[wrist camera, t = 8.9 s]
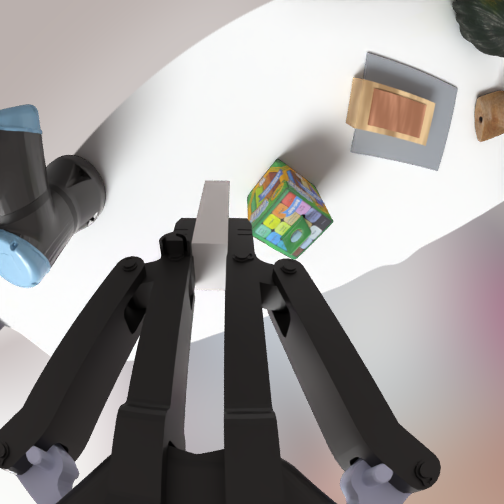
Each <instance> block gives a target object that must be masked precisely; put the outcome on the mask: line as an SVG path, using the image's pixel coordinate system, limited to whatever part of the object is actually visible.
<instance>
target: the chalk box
mask: <svg viewBox="0 0 504 504" xmlns="http://www.w3.org/2000/svg"><path fill="white" fill-rule="evenodd" d="M247 204H248V220H249V221H250V222H251V224H252V233H253V237H255V238H256V239H258V240H260V241H261V242H263V243H266V244H267V245H268V246H270V247H272V248H273V249H275V250H277V251H279V252H280V253H282V254H284V255H286V256H288V257H290V258H291V259H297V258H298V257H299V256H300V255H301V254H302V253H303V252H304V251H305V250H306V249H307V248H308V247H309V246H310V245H311V244H312V243H313V242H314V241H315V240H316V239H317V238H318V237H319V236H320V235H322V233H323V232H324V231H325V230H326V229H327V228H328V227H329V226H330V225H331V224H332V223H333V220H332V218H331V216H330V214H329V212H328V210H327V208H326V206H325V204H324V202H323V201H322V199H321V197H320V195H319V193H318V191H317V189H316V187H315V186H314V185H312V184H311V183H310V182H308V181H307V180H306V179H305V178H303V177H302V176H301V175H300V174H298V173H297V172H296V171H294V170H293V169H292V168H290V167H289V166H287V165H286V164H285V163H283V162H282V161H281V160H279V159H277V160H276V161H275V162H274V164H273V165H272V166H271V167H270V169H269V170H268V171H267V172H266V173H265V175H264V176H263V177H262V178H261V180H260V181H259V182H258V183H257V185H256V186H255V187H254V189H253V190H252V191H251V192H250V194H249V195H248V197H247Z"/></svg>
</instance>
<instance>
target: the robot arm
mask: <svg viewBox="0 0 504 504" xmlns="http://www.w3.org/2000/svg"><path fill="white" fill-rule="evenodd" d="M41 134H42V130H41V129H40V123H39V115H38V110H37V108H36V107H35V106H33V105H30V104H26V105H20V106H16V107H11V108H6V109H2V110H0V276H1V277H3V278H4V279H5V280H7V281H8V282H10V283H12V284H14V285H16V286H19V287H24V288H30V287H34V286H36V285H37V284H39V283H40V281H41V280H42V279H43V277H44V276H45V275H46V274H47V273H48V272H49V271H50V269H51V267H52V265H53V264H54V262H55V261H56V259H57V258H58V256H59V255H60V253H61V252H62V250H63V249H64V247H65V246H66V244H67V243H68V241H69V240H70V238H71V237H72V236H73V234H75V233H77V232H78V231H80V230H82V229H84V228H86V227H88V226H89V225H91V224H92V223H93V222H94V221H95V220H96V219H97V217H98V216H99V215H100V213H101V212H102V210H103V207H104V203H105V189H104V185H103V182H102V179H101V177H100V175H99V173H98V172H97V170H96V169H95V168H94V167H93V166H92V165H91V164H90V163H89V162H88V161H86V160H85V159H83V158H81V157H78V156H75V155H64V156H61V157H59V158H57V159H55V160H54V161H53V162H51V163H50V164H49V165H48V166H47V167H46V165H45V159H44V151H43V144H42V135H41ZM229 187H230V181H205V184H204V188H203V192H202V196H201V201H200V205H199V210H198V214H197V218H181V219H180V220H179V221H178V222H177V223H176V225H175V228H174V231H173V232H171V233H168V234H165V235H164V236H162V237H161V238H160V240H159V244H160V250H161V259H159V260H157V261H154V262H149V263H144V261H143V260H142V259H141V258H139V257H134V256H131V257H126V258H124V259H122V260H121V261H119V262H118V263H117V265H116V266H115V267H114V268H113V270H112V271H111V272H110V273H109V275H108V276H107V277H106V279H105V280H104V281H103V283H102V284H101V285H100V287H99V288H98V289H97V291H96V292H95V293H94V295H93V296H92V297H91V299H90V300H89V301H88V303H87V304H86V306H85V307H84V308H83V310H82V311H81V313H80V314H79V316H78V317H77V318H76V320H75V321H74V323H73V324H72V326H71V327H70V329H69V330H68V332H67V333H66V335H65V336H64V338H63V339H62V341H61V342H60V344H59V345H58V347H57V349H56V350H55V352H54V353H53V355H52V357H51V358H50V360H49V362H48V363H47V365H46V367H45V368H44V370H43V372H42V373H41V375H40V377H39V378H38V380H37V382H36V384H35V385H34V387H33V389H32V391H31V393H30V395H29V396H28V398H27V400H26V402H25V404H24V406H23V408H22V409H21V410H20V411H19V412H18V413H17V414H15V415H14V416H13V417H12V419H10V420H9V422H7V423H6V424H5V425H4V426H3V427H2V428H1V429H0V468H2V469H4V470H6V471H8V472H10V473H13V474H15V475H16V476H17V477H18V479H19V480H20V482H21V483H22V484H23V486H24V487H25V489H26V490H27V491H28V493H29V494H30V495H31V497H32V498H33V499H34V501H35V502H36V503H37V504H337V503H335V502H334V501H333V500H332V499H330V498H329V497H328V496H327V495H326V494H324V493H323V492H322V491H321V490H320V489H319V488H317V487H316V486H315V485H314V484H313V483H312V482H311V481H310V480H308V479H307V478H306V477H305V476H304V475H303V474H302V473H301V472H300V471H298V470H297V469H296V468H295V467H294V466H293V465H291V464H290V463H289V462H287V461H285V460H284V459H282V458H281V457H280V448H279V438H278V429H277V420H276V416H275V412H274V411H273V409H272V402H271V392H270V382H269V372H268V362H267V352H266V342H265V332H264V322H263V312H262V308H265V309H267V310H268V314H269V316H270V318H271V321H272V323H273V325H274V327H275V329H276V332H277V334H278V336H279V338H280V341H281V343H282V345H283V347H284V350H285V352H286V354H287V356H288V359H289V361H290V363H291V365H292V368H293V370H294V372H295V374H296V376H297V379H298V381H299V383H300V385H301V388H302V390H303V392H304V394H305V396H306V399H307V401H308V403H309V405H310V407H311V410H312V412H313V414H314V416H315V418H316V421H317V423H318V425H319V427H320V429H321V432H322V434H323V436H324V438H325V440H326V442H327V444H328V447H329V449H330V451H331V452H332V454H333V456H334V458H335V460H336V461H337V462H338V463H339V465H340V466H341V468H342V469H343V470H344V471H345V472H344V474H343V475H342V478H341V480H340V487H341V490H342V492H343V493H344V495H345V497H346V501H347V504H403V502H404V501H405V500H406V498H408V496H409V495H410V494H412V493H414V492H418V491H421V490H424V489H427V488H429V487H431V486H432V485H433V484H434V483H435V482H436V481H437V479H438V477H439V474H440V469H441V466H440V462H439V460H438V458H437V457H436V455H434V454H433V453H432V452H431V451H430V450H429V449H428V448H426V447H425V446H424V445H423V444H422V443H420V441H418V440H417V439H416V438H415V437H414V436H413V435H411V434H410V433H409V432H408V431H406V429H404V428H403V427H402V426H401V425H400V424H399V423H398V421H397V420H396V418H395V416H394V415H393V413H392V411H391V409H390V407H389V405H388V404H387V402H386V400H385V399H384V397H383V395H382V394H381V391H380V390H379V388H378V387H377V385H376V383H375V381H374V379H373V378H372V376H371V374H370V373H369V371H368V369H367V368H366V366H365V364H364V363H363V361H362V359H361V358H360V356H359V354H358V353H357V351H356V349H355V348H354V346H353V344H352V343H351V341H350V339H349V338H348V336H347V334H346V333H345V331H344V330H343V328H342V326H341V325H340V323H339V322H338V320H337V318H336V317H335V315H334V313H333V312H332V310H331V309H330V307H329V306H328V304H327V303H326V301H325V299H324V298H323V296H322V294H321V293H320V291H319V290H318V288H317V287H316V285H315V283H314V282H313V280H312V279H311V277H310V276H309V274H308V273H307V271H306V270H305V268H304V266H303V265H302V264H301V263H300V262H298V261H296V260H293V259H281V260H278V261H277V262H275V264H274V265H273V264H269V263H265V262H263V261H261V260H260V259H258V258H257V257H256V254H255V252H254V243H253V233H252V224H251V222H250V221H249V220H248V219H247V218H229ZM194 288H195V289H196V290H210V291H225V332H224V333H225V334H224V339H225V340H224V449H222V450H218V451H213V452H208V453H202V454H193V453H190V452H187V451H185V436H184V419H185V402H186V388H187V374H188V362H189V351H190V340H191V330H192V321H193V311H194V303H195V294H194ZM139 336H140V338H139V342H138V346H137V351H136V356H135V360H134V365H133V370H132V375H131V380H130V386H129V392H128V397H127V401H126V402H125V403H124V404H123V405H121V406H120V408H119V410H118V414H117V418H116V425H115V431H114V439H113V446H112V454H111V455H110V456H109V457H107V458H106V459H105V460H104V461H103V462H102V463H101V464H100V465H99V466H98V467H97V468H95V469H94V470H93V471H92V472H91V473H90V474H89V475H88V476H87V477H85V478H84V479H83V480H82V481H81V482H80V483H79V484H78V485H76V486H75V487H74V488H73V489H72V485H73V482H74V480H75V479H77V478H78V476H79V471H78V469H77V467H76V464H75V461H76V460H77V458H78V457H79V456H80V454H81V453H82V451H83V450H84V448H85V447H86V445H87V442H88V441H89V438H90V436H91V434H92V432H93V430H94V427H95V425H96V423H97V421H98V418H99V416H100V414H101V412H102V410H103V408H104V405H105V403H106V401H107V399H108V397H109V395H110V393H111V391H112V389H113V387H114V384H115V382H116V380H117V378H118V376H119V374H120V372H121V370H122V368H123V366H124V364H125V362H126V360H127V359H128V357H129V355H130V353H131V351H132V349H133V347H134V345H135V343H136V341H137V339H138V337H139Z"/></svg>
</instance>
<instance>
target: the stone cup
mask: <svg viewBox="0 0 504 504" xmlns="http://www.w3.org/2000/svg"><path fill="white" fill-rule="evenodd" d="M474 116H475V128H476V134H477V139H478V141H479V142H482V141H486V140H488V139H491V138H494V137H495V136H499V135H501V134H503V133H504V91H495V92H492V93H489V94H486V95H483V96H480V97H479V98H477V102H476V106H475V115H474Z"/></svg>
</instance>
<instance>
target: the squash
mask: <svg viewBox="0 0 504 504" xmlns="http://www.w3.org/2000/svg"><path fill="white" fill-rule="evenodd" d="M452 7H453V9H454V11H455V12H457V13H458V14H457V15H456V20H457V22H458V23H459V24H460V32H461V34H462V36H463V37H464V38H465V39H466V40H467V41H469V42H471V43H472V44H473V45H474V46H475V47H476V48H477V49H478V50H479V51H481V52H483V53H485V54H488V55H492V56H499V57H504V0H456V1H455V2H454V3H453V6H452Z"/></svg>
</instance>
